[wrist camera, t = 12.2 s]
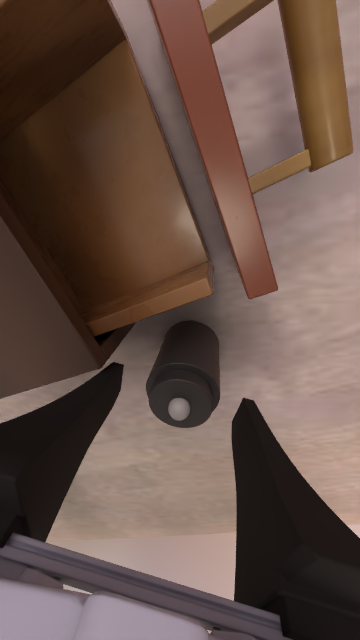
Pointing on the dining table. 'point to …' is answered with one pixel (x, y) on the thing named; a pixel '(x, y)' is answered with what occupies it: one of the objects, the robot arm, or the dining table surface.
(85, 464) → the dining table surface
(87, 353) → the cabinet
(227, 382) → the dining table surface
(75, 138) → the drawer
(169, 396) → the pepper mill
